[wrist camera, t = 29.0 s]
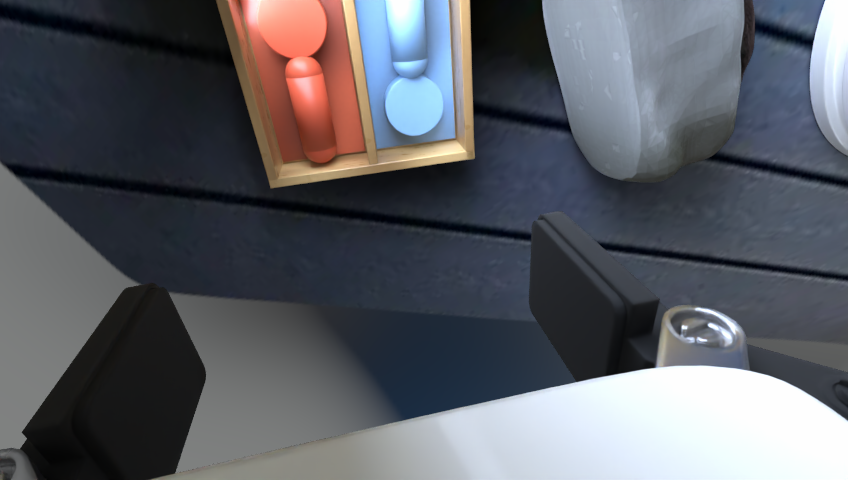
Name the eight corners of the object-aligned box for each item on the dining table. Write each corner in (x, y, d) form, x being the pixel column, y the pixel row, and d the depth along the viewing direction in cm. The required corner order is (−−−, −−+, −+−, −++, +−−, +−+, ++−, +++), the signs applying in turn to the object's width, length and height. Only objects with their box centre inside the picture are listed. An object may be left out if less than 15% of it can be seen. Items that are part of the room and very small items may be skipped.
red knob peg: (252, -13, 24) (244, -14, 22) (320, -20, 24) (318, -21, 22) (295, 160, 29) (292, 172, 27) (351, 152, 29) (352, 163, 28)
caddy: (277, 170, 30) (270, 188, 27) (214, -57, 23) (196, -64, 21) (462, 144, 31) (474, 158, 29) (453, -78, 25) (467, -88, 22)
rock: (711, 124, 34) (803, 155, 27) (580, 184, 35) (638, 228, 28) (698, -164, 25) (833, -226, 18) (519, -76, 25) (584, -103, 19)
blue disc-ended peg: (441, 126, 30) (448, 135, 28) (387, 133, 29) (390, 143, 27) (430, -50, 25) (437, -54, 23) (364, -44, 24) (366, -48, 22)
